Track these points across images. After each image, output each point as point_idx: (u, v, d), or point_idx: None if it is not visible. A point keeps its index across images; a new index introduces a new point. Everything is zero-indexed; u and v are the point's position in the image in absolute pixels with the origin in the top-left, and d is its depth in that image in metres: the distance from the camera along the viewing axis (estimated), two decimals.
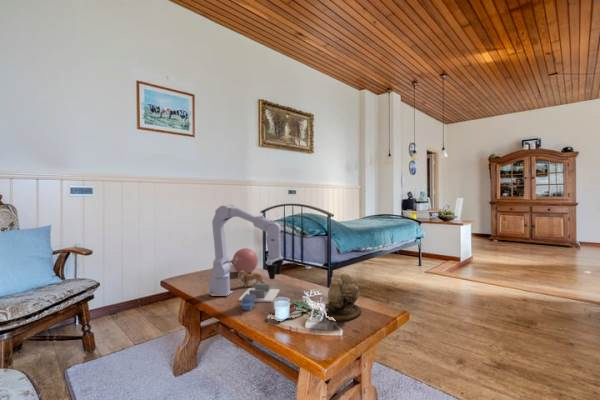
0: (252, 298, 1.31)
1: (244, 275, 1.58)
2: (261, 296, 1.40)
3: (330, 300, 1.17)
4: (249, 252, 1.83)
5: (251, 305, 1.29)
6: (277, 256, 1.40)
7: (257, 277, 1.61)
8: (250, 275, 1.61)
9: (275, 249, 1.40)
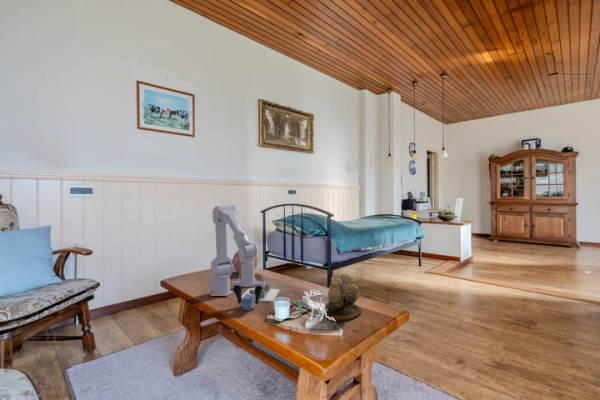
0: (252, 298, 1.31)
1: None
2: (261, 296, 1.40)
3: (330, 300, 1.17)
4: None
5: (251, 305, 1.29)
6: (242, 281, 1.29)
7: (258, 277, 1.61)
8: None
9: (241, 273, 1.30)
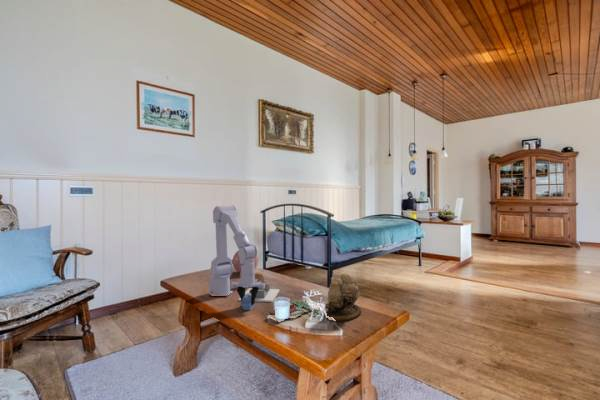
0: None
1: None
2: (261, 296, 1.40)
3: (330, 300, 1.17)
4: None
5: (251, 305, 1.29)
6: (242, 282, 1.29)
7: (258, 277, 1.62)
8: None
9: (241, 274, 1.30)
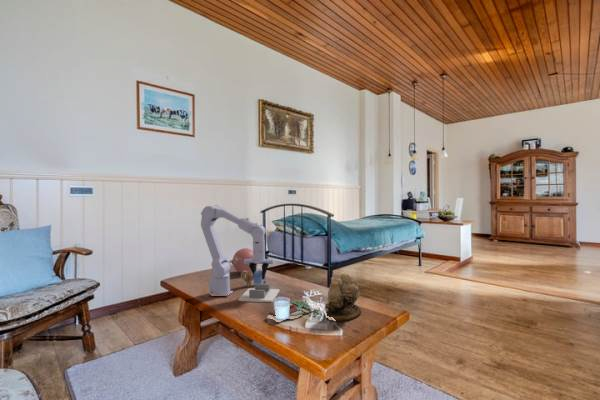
0: None
1: (247, 275, 1.58)
2: (261, 296, 1.40)
3: (330, 300, 1.17)
4: (249, 252, 1.83)
5: (262, 279, 1.43)
6: (253, 258, 1.43)
7: None
8: None
9: (253, 251, 1.44)
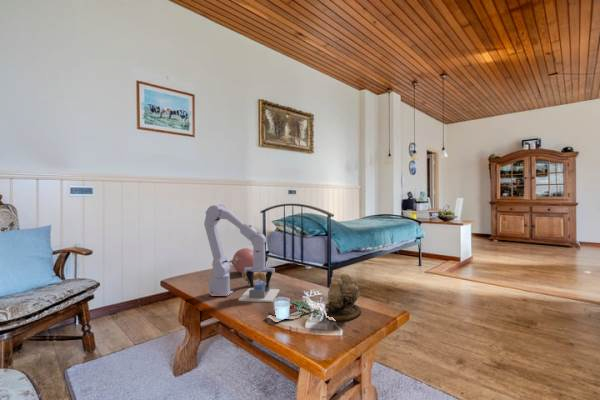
0: (263, 285, 1.46)
1: None
2: (261, 296, 1.40)
3: (330, 300, 1.17)
4: (249, 252, 1.83)
5: None
6: (254, 267, 1.44)
7: (261, 276, 1.62)
8: (254, 275, 1.61)
9: (253, 259, 1.44)
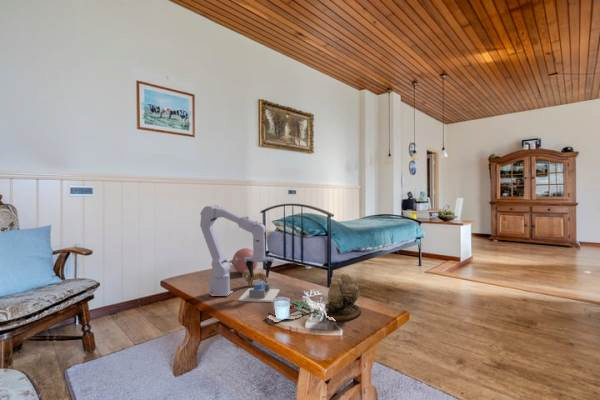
0: (263, 285, 1.46)
1: (248, 275, 1.59)
2: (261, 296, 1.40)
3: (330, 300, 1.17)
4: (249, 252, 1.83)
5: None
6: (254, 256, 1.44)
7: (261, 276, 1.62)
8: (254, 274, 1.61)
9: (253, 249, 1.44)
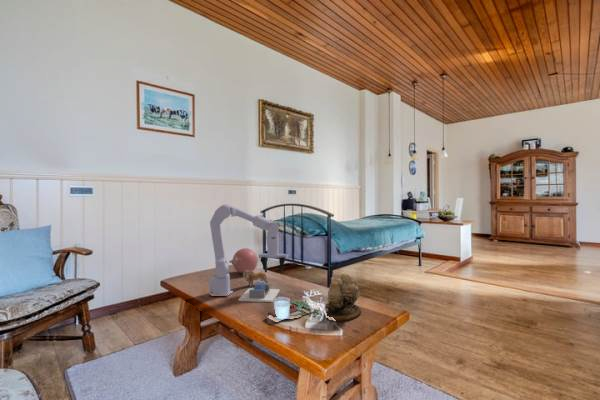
0: (263, 285, 1.46)
1: (249, 274, 1.59)
2: (261, 296, 1.40)
3: (330, 300, 1.17)
4: (249, 252, 1.83)
5: None
6: (268, 253, 1.51)
7: (262, 276, 1.62)
8: (255, 274, 1.62)
9: (267, 246, 1.52)
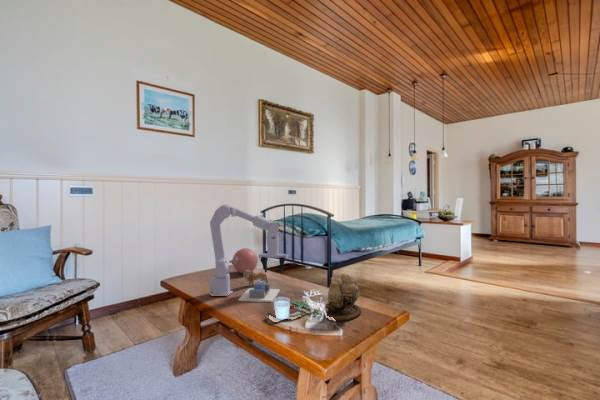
0: (263, 285, 1.46)
1: (250, 274, 1.59)
2: (261, 296, 1.40)
3: (330, 300, 1.17)
4: (249, 252, 1.83)
5: None
6: (268, 253, 1.51)
7: (262, 276, 1.63)
8: (255, 274, 1.62)
9: (267, 246, 1.52)
